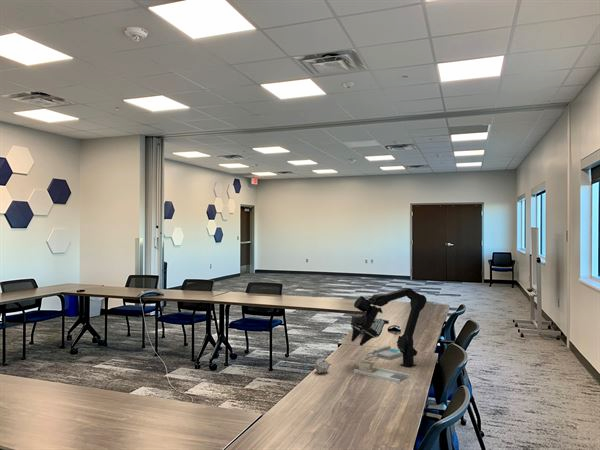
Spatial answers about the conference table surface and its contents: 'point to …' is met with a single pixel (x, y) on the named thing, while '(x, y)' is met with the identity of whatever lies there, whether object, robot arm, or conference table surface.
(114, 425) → the conference table surface
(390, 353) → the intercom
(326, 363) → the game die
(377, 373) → the trap lane
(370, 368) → the birch block
